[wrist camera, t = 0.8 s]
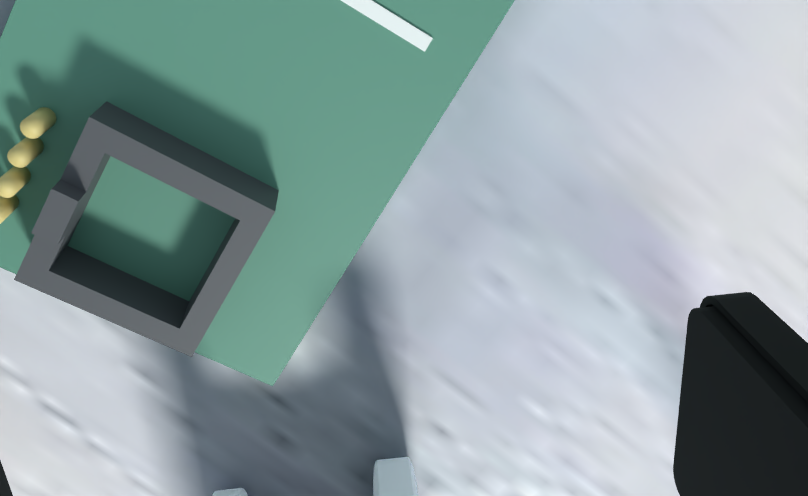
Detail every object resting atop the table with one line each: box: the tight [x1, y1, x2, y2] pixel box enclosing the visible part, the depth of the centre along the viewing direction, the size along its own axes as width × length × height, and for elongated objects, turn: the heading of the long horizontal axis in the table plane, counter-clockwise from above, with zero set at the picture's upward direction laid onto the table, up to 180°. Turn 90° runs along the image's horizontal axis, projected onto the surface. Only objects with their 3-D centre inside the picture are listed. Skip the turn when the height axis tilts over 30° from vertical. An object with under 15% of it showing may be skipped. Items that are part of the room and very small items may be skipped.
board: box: [0, 0, 514, 386], centre depth 30 cm, size 16×22×5 cm
